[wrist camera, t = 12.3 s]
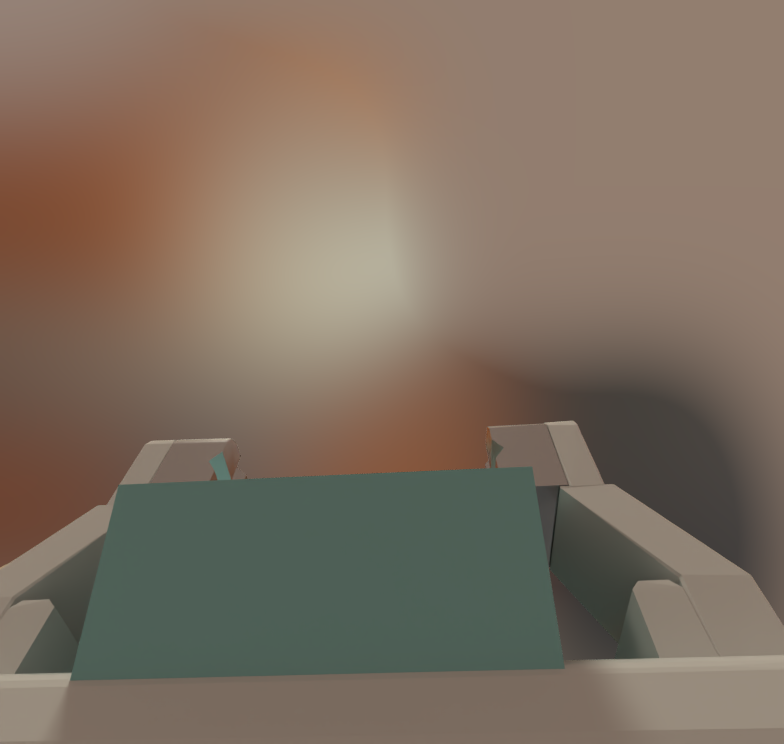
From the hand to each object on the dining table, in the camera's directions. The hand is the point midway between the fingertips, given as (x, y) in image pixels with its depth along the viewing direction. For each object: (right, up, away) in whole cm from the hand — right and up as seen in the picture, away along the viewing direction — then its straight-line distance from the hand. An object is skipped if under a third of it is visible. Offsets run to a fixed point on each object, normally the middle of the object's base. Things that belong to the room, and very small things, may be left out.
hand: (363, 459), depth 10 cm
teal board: (+1, -8, +7) cm, 11 cm away
